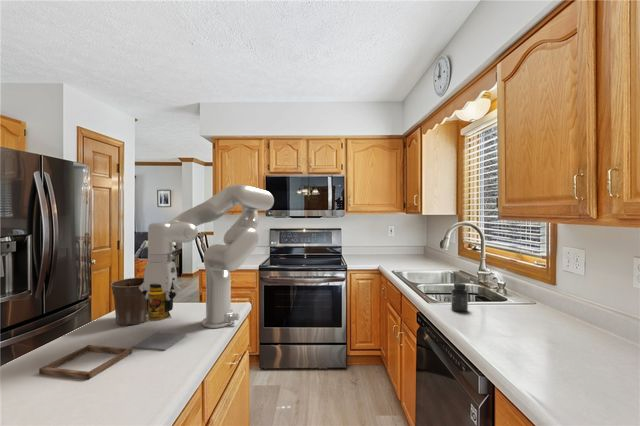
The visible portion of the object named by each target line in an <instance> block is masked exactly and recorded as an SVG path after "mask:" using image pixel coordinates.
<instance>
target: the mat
mask: <svg viewBox="0 0 640 426" xmlns="http://www.w3.org/2000/svg"><path fill="white" fill-rule="evenodd" d="M187 336H188V335H187V333H180V332H178V333H177V332H164V331H156V332H154V333H152V334H151V335H149V336H147V337H145V338H143V339H142V340H140V341H138V342H137V343H135V344H133V345H132V346H131V349H139V348H140V349H141V350H150V349H151V350H152V351H162V352H163V351H164V352H165V351H167V350H169V348H171V347H173V346H174V345H176V344H177V343H178V342H180V341H181V340H183V339H184V338H186V337H187ZM151 350H150V351H151Z"/></svg>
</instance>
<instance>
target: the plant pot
mask: <svg viewBox="0 0 640 426" xmlns="http://www.w3.org/2000/svg"><path fill="white" fill-rule="evenodd" d="M143 282H144V277H130V278H123V279H119V280H116V281H112V282H111V283H110V287H111V290H112V295H113V300H114V311H115V313H114V314H115V322H116V324H117V325H118V326H125V327H126V326H128V325H131V326H136V325H140V323H141V324H143V323H146V322H147V319H146V315H148V311H147V299H145V296H144V294H143V293H142V291H141V290H140V289H139V287H140V286H141V284H142V283H143Z"/></svg>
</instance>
